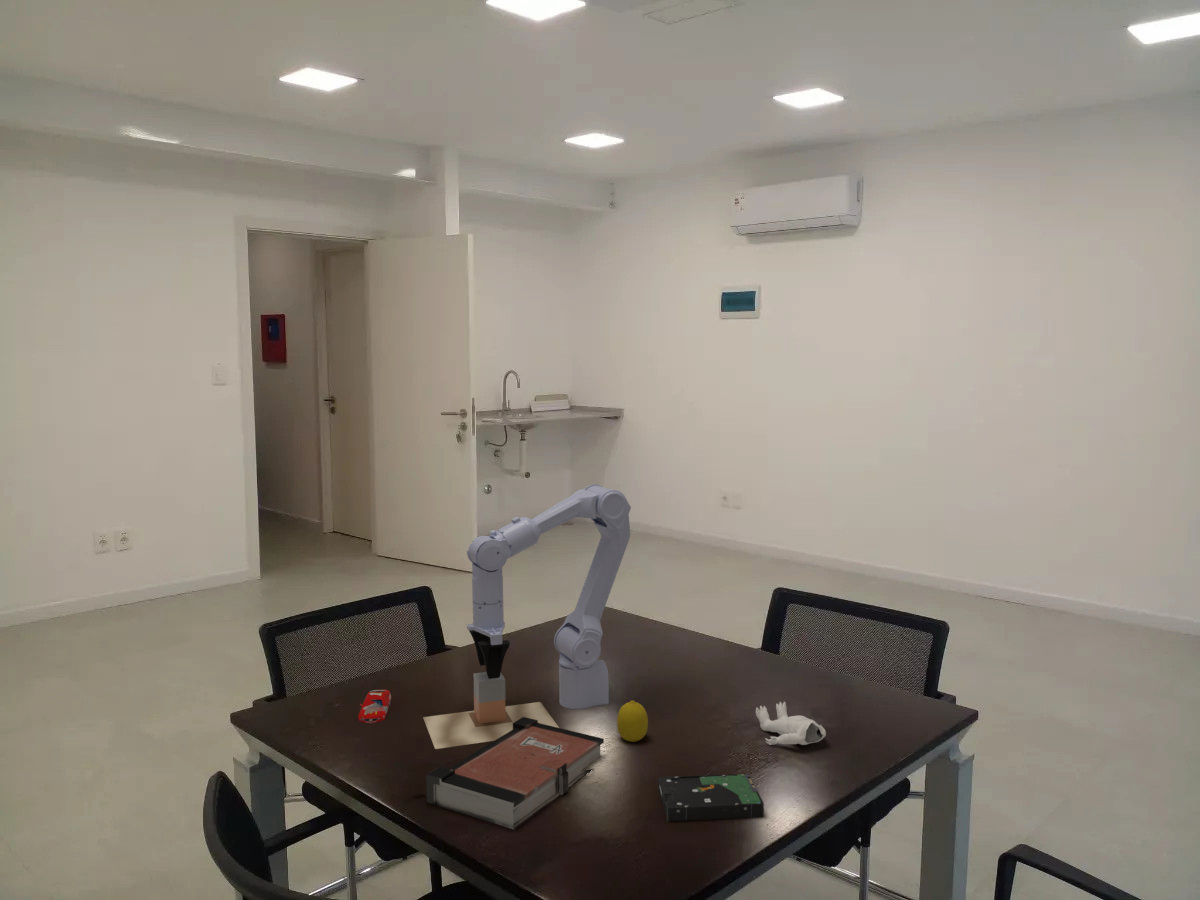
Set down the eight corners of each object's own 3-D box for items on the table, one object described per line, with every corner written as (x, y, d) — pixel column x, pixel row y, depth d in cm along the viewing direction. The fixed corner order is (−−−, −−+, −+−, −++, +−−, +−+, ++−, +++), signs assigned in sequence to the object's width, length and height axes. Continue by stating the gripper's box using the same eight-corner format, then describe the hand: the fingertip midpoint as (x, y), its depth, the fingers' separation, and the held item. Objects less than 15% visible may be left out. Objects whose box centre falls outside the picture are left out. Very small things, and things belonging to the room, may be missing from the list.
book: (518, 833, 134) (517, 801, 134) (426, 804, 143) (426, 774, 143) (607, 764, 157) (607, 736, 156) (523, 743, 166) (523, 716, 165)
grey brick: (499, 690, 176) (499, 670, 176) (505, 699, 172) (505, 678, 171) (473, 693, 175) (473, 673, 174) (479, 703, 170) (478, 682, 170)
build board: (540, 706, 182) (540, 701, 181) (561, 736, 167) (561, 730, 167) (423, 722, 174) (423, 716, 174) (435, 754, 160) (435, 748, 160)
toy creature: (794, 697, 174) (836, 704, 164) (799, 730, 174) (841, 738, 163) (742, 709, 169) (782, 716, 158) (747, 742, 168) (787, 752, 158)
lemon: (651, 739, 166) (651, 697, 165) (642, 752, 160) (642, 708, 160) (622, 735, 167) (622, 693, 167) (613, 748, 162) (612, 704, 161)
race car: (384, 729, 172) (384, 708, 172) (355, 730, 172) (354, 709, 171) (395, 702, 185) (394, 683, 185) (367, 703, 185) (367, 684, 184)
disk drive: (667, 826, 137) (765, 820, 138) (667, 808, 136) (765, 802, 137) (657, 793, 147) (748, 787, 148) (657, 776, 146) (748, 771, 148)
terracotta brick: (499, 710, 177) (499, 690, 176) (505, 720, 172) (505, 699, 172) (474, 714, 175) (473, 693, 175) (479, 723, 171) (479, 703, 170)
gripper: (459, 593, 177) (461, 661, 178) (474, 612, 163) (476, 686, 165) (495, 589, 179) (497, 657, 181) (512, 609, 166) (514, 681, 167)
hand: (489, 671), depth 173 cm, fingers open, 7 cm apart
